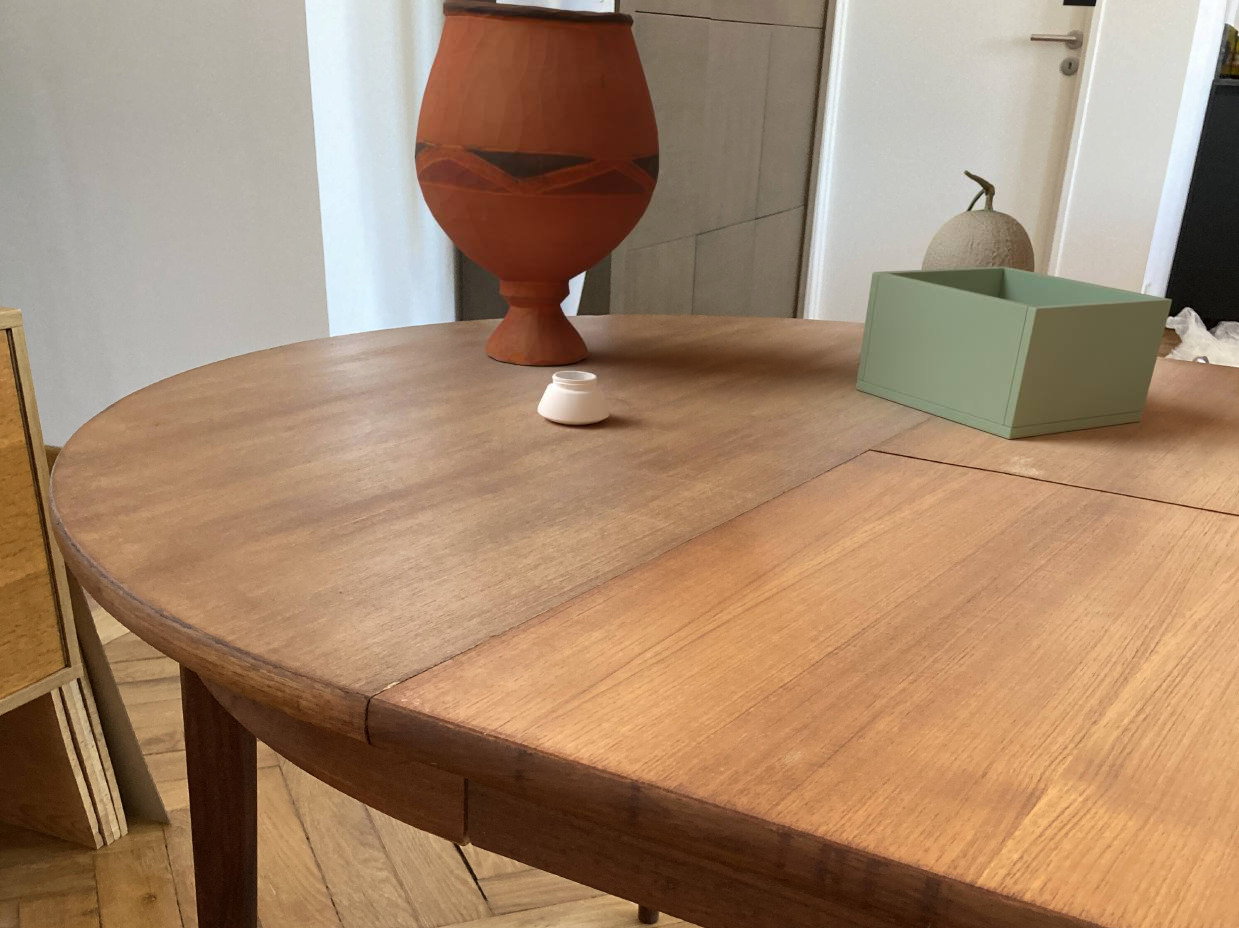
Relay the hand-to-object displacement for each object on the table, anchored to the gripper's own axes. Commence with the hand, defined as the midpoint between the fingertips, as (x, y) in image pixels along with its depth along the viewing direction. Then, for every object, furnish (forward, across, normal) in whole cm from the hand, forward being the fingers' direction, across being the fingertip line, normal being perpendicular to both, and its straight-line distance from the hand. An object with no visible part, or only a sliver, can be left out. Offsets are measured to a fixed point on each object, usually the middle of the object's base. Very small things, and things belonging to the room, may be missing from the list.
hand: (1085, 1), depth 102 cm
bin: (+28, +22, -2) cm, 35 cm away
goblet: (+28, +21, -40) cm, 53 cm away
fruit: (+28, -7, -5) cm, 29 cm away
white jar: (+28, +40, -32) cm, 59 cm away
